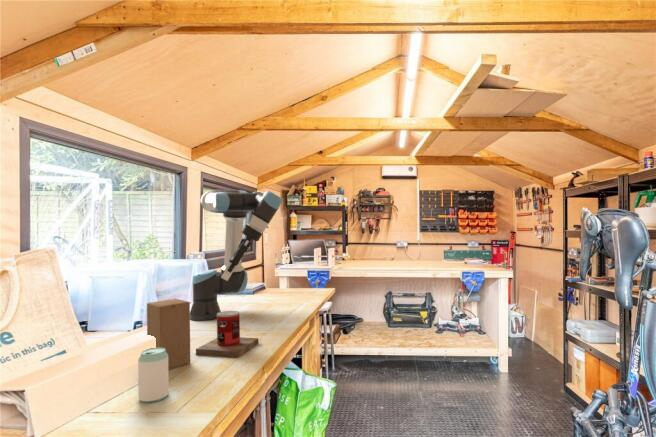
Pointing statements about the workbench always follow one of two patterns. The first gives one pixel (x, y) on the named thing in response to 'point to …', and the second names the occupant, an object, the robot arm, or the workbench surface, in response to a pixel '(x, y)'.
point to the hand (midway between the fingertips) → (225, 275)
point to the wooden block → (171, 329)
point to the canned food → (228, 328)
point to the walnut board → (227, 348)
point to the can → (153, 375)
